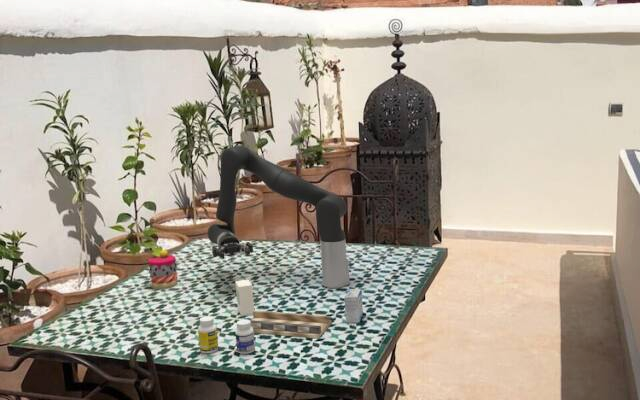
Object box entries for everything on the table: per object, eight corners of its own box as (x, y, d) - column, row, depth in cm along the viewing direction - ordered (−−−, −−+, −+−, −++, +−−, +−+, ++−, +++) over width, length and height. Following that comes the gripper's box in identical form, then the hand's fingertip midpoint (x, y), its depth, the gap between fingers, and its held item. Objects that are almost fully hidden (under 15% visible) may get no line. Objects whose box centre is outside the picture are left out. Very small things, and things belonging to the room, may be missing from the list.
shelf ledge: (331, 323, 212) (331, 314, 212) (318, 338, 201) (317, 329, 201) (256, 317, 221) (256, 308, 221) (240, 331, 210) (239, 322, 210)
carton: (250, 307, 231) (248, 279, 229) (254, 313, 225) (252, 284, 223) (237, 309, 230) (235, 281, 228) (241, 315, 224) (238, 287, 222)
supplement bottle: (210, 355, 194) (207, 323, 192) (196, 352, 197) (192, 320, 195) (222, 348, 199) (219, 316, 197) (208, 345, 201) (205, 314, 200)
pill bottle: (237, 347, 198) (234, 319, 196) (255, 346, 199) (252, 317, 197) (236, 355, 193) (234, 326, 191) (255, 353, 193) (252, 324, 192)
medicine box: (359, 323, 211) (358, 296, 209) (345, 323, 212) (344, 296, 210) (363, 314, 219) (361, 288, 217) (349, 313, 219) (348, 288, 218)
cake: (183, 282, 264) (180, 244, 261) (167, 290, 255) (162, 252, 252) (162, 279, 268) (158, 243, 266) (145, 288, 259) (140, 250, 256)
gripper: (208, 236, 247) (214, 246, 232) (246, 231, 251) (255, 241, 236) (209, 255, 249) (216, 267, 234) (247, 250, 253) (256, 262, 237)
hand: (235, 254), depth 235 cm, fingers open, 8 cm apart
